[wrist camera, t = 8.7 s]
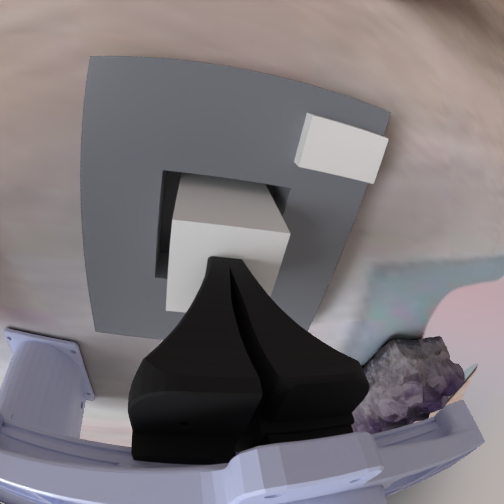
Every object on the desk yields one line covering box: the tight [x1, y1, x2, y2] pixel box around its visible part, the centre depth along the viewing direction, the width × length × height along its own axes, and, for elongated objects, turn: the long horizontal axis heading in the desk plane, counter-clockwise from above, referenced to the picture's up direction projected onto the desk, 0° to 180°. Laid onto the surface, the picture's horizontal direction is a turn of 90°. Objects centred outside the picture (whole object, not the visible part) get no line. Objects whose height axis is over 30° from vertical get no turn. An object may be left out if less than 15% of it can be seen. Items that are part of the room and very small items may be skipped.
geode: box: [351, 336, 465, 434], centre depth 29 cm, size 20×12×10 cm, turn 149°
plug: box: [166, 172, 291, 313], centre depth 16 cm, size 8×4×6 cm, turn 168°
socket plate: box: [80, 56, 391, 340], centre depth 16 cm, size 16×14×4 cm
